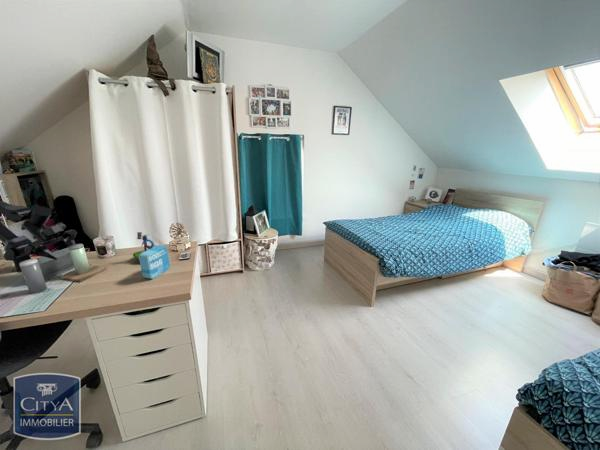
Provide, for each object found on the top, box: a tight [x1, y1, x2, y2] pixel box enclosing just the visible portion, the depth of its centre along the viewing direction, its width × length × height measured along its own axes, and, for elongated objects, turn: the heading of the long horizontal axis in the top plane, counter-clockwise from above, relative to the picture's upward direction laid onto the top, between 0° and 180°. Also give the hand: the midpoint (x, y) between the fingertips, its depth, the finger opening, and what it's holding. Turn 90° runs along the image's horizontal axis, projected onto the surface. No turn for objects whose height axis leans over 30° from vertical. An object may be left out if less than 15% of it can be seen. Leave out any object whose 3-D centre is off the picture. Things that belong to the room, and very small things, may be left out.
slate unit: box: [35, 247, 75, 282], centre depth 115 cm, size 9×20×8 cm, turn 167°
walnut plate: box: [58, 264, 108, 283], centre depth 114 cm, size 12×12×1 cm
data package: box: [138, 245, 171, 280], centre depth 114 cm, size 12×4×12 cm, turn 167°
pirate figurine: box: [132, 231, 155, 260], centre depth 128 cm, size 14×13×15 cm
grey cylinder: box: [19, 258, 48, 295], centre depth 99 cm, size 5×5×13 cm
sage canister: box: [67, 243, 90, 275], centre depth 112 cm, size 5×5×13 cm
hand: (67, 254), depth 112 cm, fingers open, 9 cm apart
